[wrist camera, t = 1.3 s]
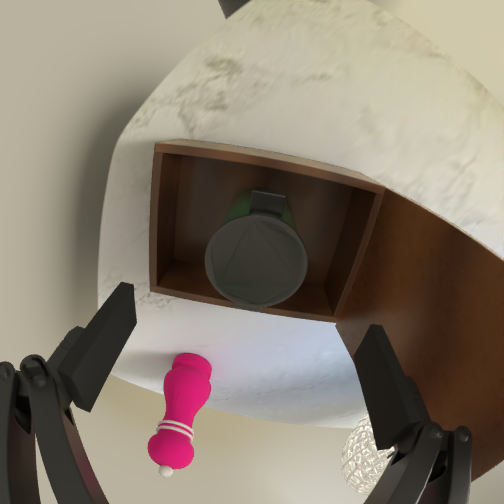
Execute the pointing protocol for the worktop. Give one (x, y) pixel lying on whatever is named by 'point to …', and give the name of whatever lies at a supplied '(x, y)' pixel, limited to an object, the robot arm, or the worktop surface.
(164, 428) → the pepper mill
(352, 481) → the heart
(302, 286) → the chest
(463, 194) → the worktop surface
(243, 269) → the green pot
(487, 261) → the lid
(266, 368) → the worktop surface
